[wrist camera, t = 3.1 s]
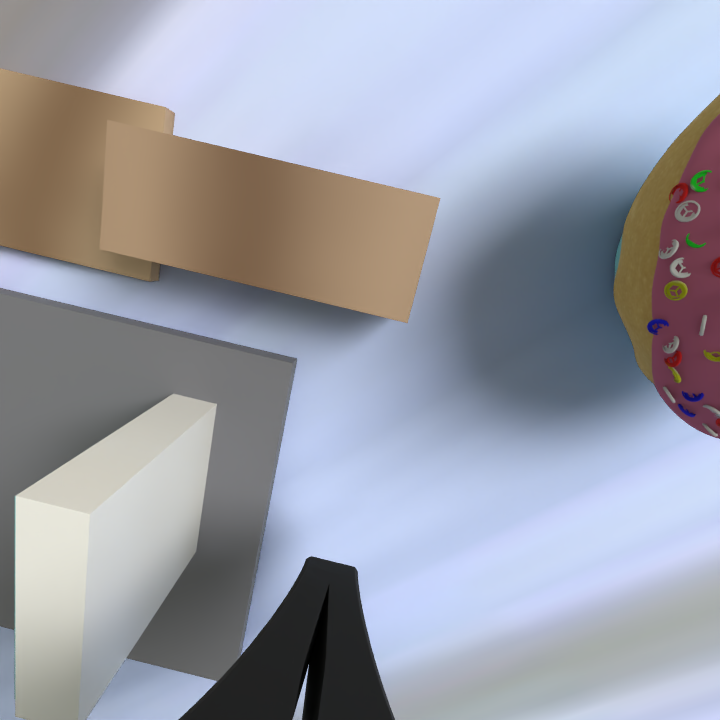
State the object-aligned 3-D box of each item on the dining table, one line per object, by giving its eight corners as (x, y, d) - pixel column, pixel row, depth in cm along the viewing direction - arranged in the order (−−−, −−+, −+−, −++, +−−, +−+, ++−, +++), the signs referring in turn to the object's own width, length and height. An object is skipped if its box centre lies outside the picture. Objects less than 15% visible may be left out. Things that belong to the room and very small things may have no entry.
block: (196, 551, 15) (77, 732, 10) (151, 540, 15) (7, 714, 10) (216, 404, 14) (90, 514, 8) (167, 392, 14) (5, 493, 8)
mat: (237, 670, 17) (232, 684, 17) (-35, 602, 18) (-49, 613, 17) (297, 358, 14) (293, 363, 13) (-48, 276, 14) (-66, 278, 13)
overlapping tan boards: (438, 175, 12) (452, 151, 9) (396, 337, 14) (397, 360, 11) (-17, 68, 12) (-142, 12, 10) (-15, 238, 14) (-124, 234, 11)
